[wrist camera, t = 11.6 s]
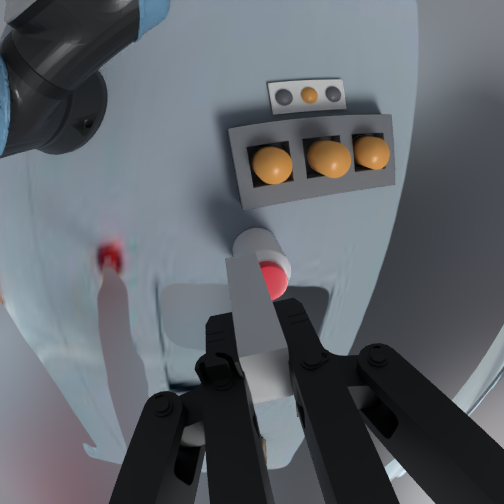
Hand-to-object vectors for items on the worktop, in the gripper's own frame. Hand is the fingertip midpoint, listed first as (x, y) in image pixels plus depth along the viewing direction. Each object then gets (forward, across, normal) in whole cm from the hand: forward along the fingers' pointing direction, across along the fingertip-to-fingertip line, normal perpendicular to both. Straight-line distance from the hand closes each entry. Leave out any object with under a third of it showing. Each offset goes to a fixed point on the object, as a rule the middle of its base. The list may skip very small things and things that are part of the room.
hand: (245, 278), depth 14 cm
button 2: (+29, +7, +1) cm, 30 cm away
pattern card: (+29, +15, +10) cm, 35 cm away
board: (+29, +15, +1) cm, 33 cm away
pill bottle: (+30, +3, -13) cm, 32 cm away
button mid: (+27, +15, +1) cm, 31 cm away
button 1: (+29, +23, +1) cm, 37 cm away
